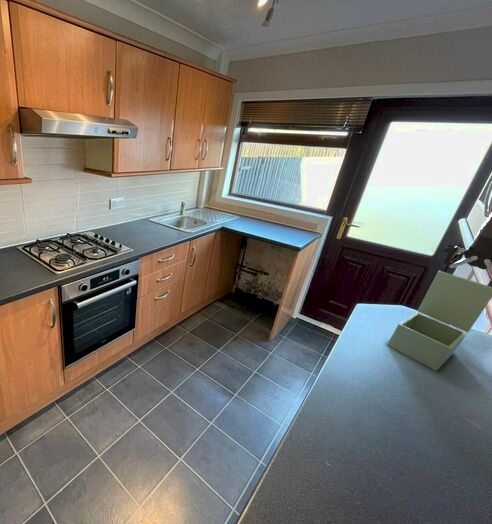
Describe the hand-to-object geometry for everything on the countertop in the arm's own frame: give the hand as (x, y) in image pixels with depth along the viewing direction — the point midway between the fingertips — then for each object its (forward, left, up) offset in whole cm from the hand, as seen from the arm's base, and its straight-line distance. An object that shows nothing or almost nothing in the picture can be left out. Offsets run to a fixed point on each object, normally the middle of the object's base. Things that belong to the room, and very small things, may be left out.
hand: (466, 284), depth 88 cm
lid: (+4, 0, -5) cm, 7 cm away
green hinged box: (+10, 0, -23) cm, 25 cm away
